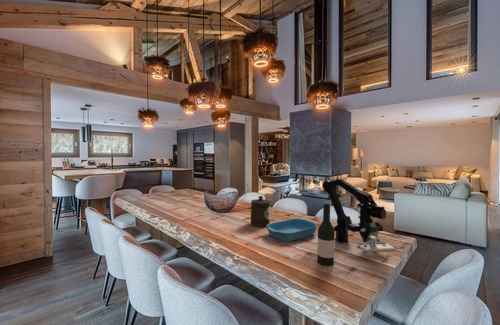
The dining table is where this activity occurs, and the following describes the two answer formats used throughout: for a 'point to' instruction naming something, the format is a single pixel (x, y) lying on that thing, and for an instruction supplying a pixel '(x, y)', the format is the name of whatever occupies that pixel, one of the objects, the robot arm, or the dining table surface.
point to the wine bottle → (326, 239)
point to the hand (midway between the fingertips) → (364, 242)
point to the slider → (372, 241)
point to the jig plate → (380, 246)
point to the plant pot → (374, 234)
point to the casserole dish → (291, 229)
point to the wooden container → (260, 212)
